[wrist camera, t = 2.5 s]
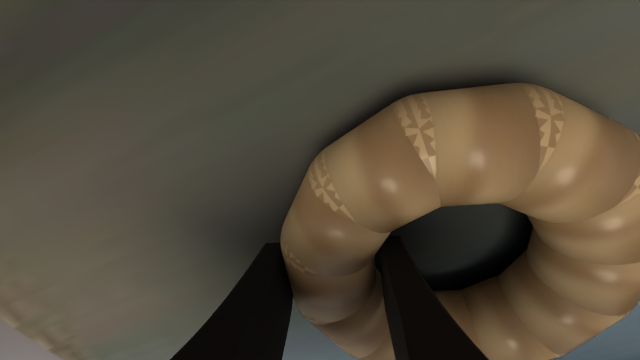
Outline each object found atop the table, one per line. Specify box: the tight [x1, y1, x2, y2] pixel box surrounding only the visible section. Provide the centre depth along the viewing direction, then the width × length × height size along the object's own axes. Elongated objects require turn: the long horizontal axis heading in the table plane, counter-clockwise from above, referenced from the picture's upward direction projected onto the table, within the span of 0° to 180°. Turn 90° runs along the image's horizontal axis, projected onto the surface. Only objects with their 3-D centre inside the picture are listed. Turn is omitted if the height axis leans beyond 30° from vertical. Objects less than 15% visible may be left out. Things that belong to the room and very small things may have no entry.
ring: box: [280, 83, 640, 360], centre depth 11 cm, size 11×11×3 cm
